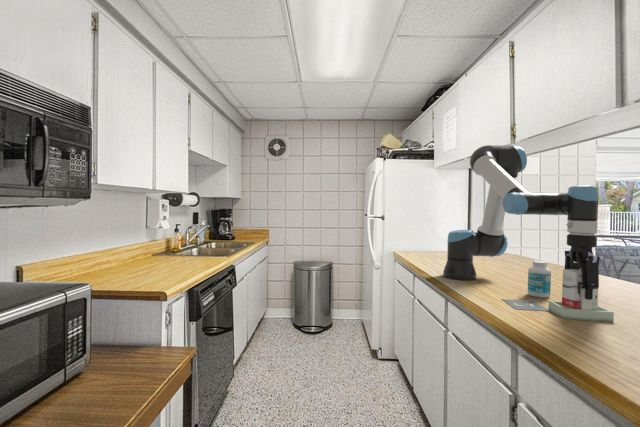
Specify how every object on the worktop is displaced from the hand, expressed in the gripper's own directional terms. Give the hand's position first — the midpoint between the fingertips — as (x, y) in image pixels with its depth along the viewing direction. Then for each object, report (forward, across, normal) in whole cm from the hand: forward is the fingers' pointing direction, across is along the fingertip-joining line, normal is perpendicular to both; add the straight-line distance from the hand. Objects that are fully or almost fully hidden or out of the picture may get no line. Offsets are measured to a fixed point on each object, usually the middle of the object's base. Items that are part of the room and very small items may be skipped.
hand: (579, 305), depth 104 cm
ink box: (+1, 0, 0) cm, 1 cm away
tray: (+3, 0, 0) cm, 3 cm away
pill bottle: (+3, -24, -1) cm, 24 cm away
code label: (+3, -8, -12) cm, 15 cm away
